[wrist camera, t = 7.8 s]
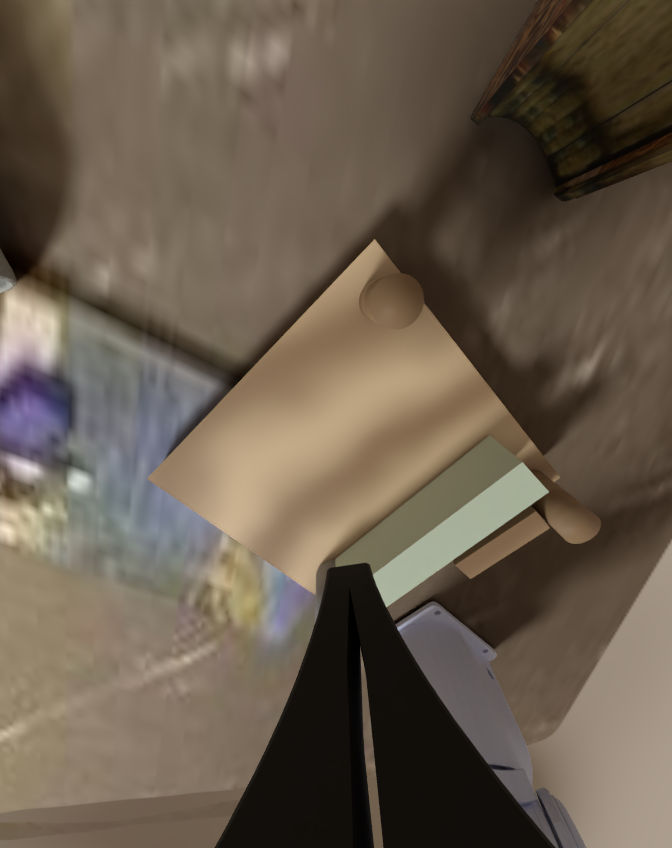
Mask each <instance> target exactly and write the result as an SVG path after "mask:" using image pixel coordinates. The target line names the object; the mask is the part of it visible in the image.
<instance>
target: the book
mask: <svg viewBox="0 0 672 848" xmlns="http://www.w3.org/2000/svg"><path fill="white" fill-rule="evenodd" d="M494 116H495V117H504V118H509V119H512V120H514V121H516V122H518V123H520V124H521V125H523V126H524V127H526V128H527V129H528V130H529V131H530V132H531V133H532V134H533V135H534V137H535V138H536V139H537V141H538V142H539V144H540V145H541V147H542V148H543V150H544V152H545V154H546V157H547V159H548V162H549V164H550V167H551V170H552V174H553V177H554V181H555V187H556V188H555V190H554V195H555V196H556V197H557V198H558V199H559V200H561V201H567V200H571V199H574V198H579V197H581V196H584V195H587V194H589V193H592V192H594V191H597V190H600V189H602V188H605V187H607V186H610V185H613V184H615V183H618V182H620V181H623V180H625V179H628V178H630V177H633V176H635V175H638V174H640V173H643V172H645V171H648V170H650V169H653V168H655V167H658V166H661V165H663V164H666V163H668V162H671V161H672V0H538V2H537V4H536V5H535V7H534V9H533V11H532V12H531V14H530V16H529V17H528V19H527V21H526V22H525V24H524V26H523V28H522V29H521V31H520V33H519V34H518V36H517V38H516V40H515V41H514V43H513V45H512V46H511V48H510V50H509V52H508V53H507V55H506V57H505V59H504V60H503V62H502V64H501V65H500V67H499V69H498V71H497V72H496V74H495V76H494V77H493V79H492V81H491V83H490V84H489V86H488V88H487V90H486V91H485V93H484V95H483V96H482V98H481V100H480V102H479V103H478V105H477V107H476V109H475V110H474V112H473V114H472V116H471V120H473V121H474V122H475V123H476V124H477V125H479V124H480V123H481V122H482V121H483V120H484V119H485V118H486V117H494Z"/></svg>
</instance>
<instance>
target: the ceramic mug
mask: <svg viewBox="0 0 672 848" xmlns="http://www.w3.org/2000/svg"><path fill="white" fill-rule="evenodd" d="M15 285H16V277H15V275H14V273H13V270H12V268H11V267H10V265H9V263H8V261H7V260H6V258H5V256H4V255H3V253H2V251H1V249H0V293H1V292H3V291H8V290H10V289H12V288H13V287H14V286H15Z"/></svg>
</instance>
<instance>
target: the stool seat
mask: <svg viewBox="0 0 672 848" xmlns="http://www.w3.org/2000/svg"><path fill="white" fill-rule="evenodd" d="M489 435H490V436H491V437H493V438H494V439H495V440H496V441H498V442H499V443H500V444H501V445H502V446H504V447H505V448H506V449H507V450H508V451H510V452H511V453H512V454H513V455H515V456H516V457H517V458H518V459H519V460H521V461H522V462H523V463H524V464H525V465H526V467H527V468H528V469H529V470H530V471H531V472H532V473H533V474H534V476H535V477H536V478H537V479H538V480H539V481H540V482H541V483H542V485H543V486H544V487H545V488H546V489H547V490H548V491H549V492H548V493H547V494H546V495H544V496H543V497H541V498H540V499H539V500H537V501H536V502H534V503H533V504H531V506H532V507H533V508H534V509H535V510H536V511H537V512H538V513H539V514H540V515H541V516H542V517H543V518H544V519H545V520H546V521H547V522H548V523H549V524H550V525H551V526H552V527H553V528H554V529H555V530H556V531H557V532H558V533H559V534H560V535H561V536H562V537H563V538H564V539H565V540H566V541H567V542H569V543H572V544H580V543H584V542H586V541H588V540H590V539H592V538H593V537H594V536H595V535H596V534H597V533H598V532H599V530H600V528H601V521H600V519H599V518H598V517H597V516H596V515H595V514H594V513H592V512H591V511H590V510H589V509H587V508H586V507H585V506H584V505H582V504H581V503H580V502H579V501H577V500H576V499H575V498H574V497H572V496H571V495H570V494H569V493H567V492H566V491H565V490H563V489H562V488H561V487H560V486H558V485H557V484H556V483H555V481H556V480H558V479H559V478H560V477H559V475H558V474H557V473H556V472H555V470H554V469H553V468H552V466H551V465H550V464H549V463H548V461H547V460H546V459H545V457H544V456H543V455H542V454H541V452H540V451H539V450H538V448H537V447H536V446H535V445H534V443H533V442H532V441H531V439H530V438H529V437H528V436H527V434H526V433H525V432H524V430H523V429H522V428H521V427H520V425H519V424H518V423H517V421H516V420H515V419H514V418H513V416H512V415H511V414H510V412H509V411H508V410H507V409H506V407H505V406H504V405H503V403H502V402H501V401H500V400H499V398H498V397H497V396H496V394H495V393H494V392H493V391H492V389H491V388H490V387H489V385H488V384H487V383H486V382H485V380H484V379H483V378H482V377H481V375H480V374H479V373H478V371H477V370H476V369H475V368H474V366H473V365H472V364H471V362H470V361H469V360H468V359H467V357H466V356H465V355H464V353H463V352H462V351H461V350H460V348H459V347H458V346H457V344H456V343H455V342H454V341H453V339H452V338H451V337H450V335H449V334H448V333H447V332H446V330H445V329H444V328H443V326H442V325H441V324H440V323H439V321H438V320H437V319H436V317H435V316H434V315H433V314H432V312H431V311H430V310H429V308H428V307H427V306H426V305H425V303H424V294H423V290H422V287H421V285H420V284H419V282H418V281H417V280H416V279H415V278H414V277H412V276H410V275H408V274H404V273H401V272H400V271H399V270H398V269H397V267H396V266H395V265H394V263H393V262H392V261H391V260H390V258H389V257H388V256H387V254H386V253H385V252H384V251H383V249H382V248H381V247H380V245H379V244H378V243H377V242H376V240H375V239H374V240H373V241H372V242H371V243H370V244H369V246H368V247H367V248H366V249H365V250H364V251H363V252H362V253H361V254H360V255H359V256H358V257H357V258H356V259H355V260H354V261H353V262H352V263H351V264H350V266H349V267H348V268H347V269H346V270H345V271H344V272H343V273H342V274H341V275H340V276H339V277H338V278H337V279H336V280H335V281H334V282H333V283H332V284H331V286H330V287H329V288H328V289H327V290H326V291H325V292H324V293H323V294H322V295H321V296H320V297H319V298H318V299H317V300H316V301H315V302H314V303H313V304H312V306H311V307H310V308H309V309H308V310H307V311H306V312H305V313H304V314H303V315H302V316H301V317H300V318H299V319H298V320H297V321H296V322H295V323H294V324H293V326H292V327H291V328H290V329H289V330H288V331H287V332H286V333H285V334H284V335H283V336H282V337H281V338H280V339H279V340H278V341H277V342H276V343H275V344H274V346H273V347H272V348H271V349H270V350H269V351H268V352H267V353H266V354H265V355H264V356H263V357H262V358H261V359H260V360H259V361H258V362H257V363H256V364H255V366H254V367H253V368H252V369H251V370H250V371H249V372H248V373H247V374H246V375H245V376H244V377H243V378H242V379H241V380H240V381H239V382H238V383H237V384H236V385H235V387H234V388H233V389H232V390H231V391H230V392H229V393H228V394H227V395H226V396H225V397H224V398H223V399H222V400H221V401H220V402H219V403H218V404H217V405H216V407H215V408H214V409H213V410H212V411H211V412H210V413H209V414H208V415H207V416H206V417H205V418H204V419H203V420H202V421H201V422H200V423H199V424H198V425H197V427H196V428H195V429H194V430H193V431H192V432H191V433H190V434H189V435H188V436H187V437H186V438H185V439H184V440H183V441H182V442H181V443H180V444H179V445H178V447H177V448H176V449H175V450H174V451H173V452H172V453H171V454H170V455H169V456H168V457H167V458H166V459H165V460H164V461H163V462H162V463H161V464H160V465H159V467H158V468H157V469H156V470H155V471H154V472H153V473H152V474H151V475H150V476H149V477H148V478H147V479H148V480H150V481H151V482H153V483H154V484H155V485H157V486H158V487H160V488H161V489H163V490H164V491H166V492H167V493H168V494H170V495H171V496H173V497H174V498H176V499H177V500H179V501H180V502H181V503H183V504H184V505H186V506H187V507H189V508H190V509H192V510H193V511H194V512H196V513H197V514H199V515H200V516H202V517H203V518H205V519H206V520H207V521H209V522H210V523H212V524H213V525H215V526H216V527H218V528H219V529H220V530H222V531H223V532H225V533H226V534H228V535H229V536H231V537H232V538H233V539H235V540H236V541H238V542H239V543H241V544H242V545H244V546H245V547H247V548H248V549H249V550H251V551H252V552H254V553H255V554H257V555H258V556H260V557H261V558H262V559H264V560H265V561H267V562H268V563H270V564H271V565H273V566H274V567H275V568H277V569H278V570H280V571H281V572H283V573H284V574H286V575H287V576H288V577H290V578H291V579H293V580H294V581H296V582H297V583H299V584H300V585H301V586H303V587H304V588H306V589H307V590H309V591H310V592H312V593H313V594H314V595H316V573H317V570H318V568H319V567H320V566H321V565H322V564H324V563H325V562H327V561H330V560H333V559H336V558H337V557H338V556H340V555H341V554H342V553H343V552H345V551H346V550H347V549H348V548H350V547H351V546H352V545H353V544H355V543H356V542H357V541H358V540H360V539H361V538H362V537H363V536H365V535H366V534H367V533H368V532H370V531H371V530H372V529H373V528H375V527H376V526H377V525H378V524H380V523H381V522H382V521H383V520H385V519H386V518H387V517H388V516H389V515H391V514H392V513H393V512H394V511H396V510H397V509H398V508H399V507H401V506H402V505H403V504H404V503H406V502H407V501H408V500H409V499H411V498H412V497H413V496H414V495H416V494H417V493H418V492H419V491H421V490H422V489H423V488H424V487H426V486H427V485H428V484H429V483H431V482H432V481H433V480H434V479H436V478H437V477H438V476H439V475H441V474H442V473H443V472H444V471H446V470H447V469H448V468H449V467H451V466H452V465H453V464H454V463H455V462H457V461H458V460H459V459H460V458H462V457H463V456H464V455H465V454H467V453H468V452H469V451H470V450H472V449H473V448H474V447H475V446H477V445H478V444H479V443H480V442H482V441H483V440H484V439H485V438H487V437H488V436H489ZM531 506H529V507H527V508H526V509H524V510H523V511H522V512H520V513H519V514H517V515H516V516H515V517H513V518H512V519H510V520H509V521H507V522H506V523H505V524H503V525H502V526H500V527H499V528H498V529H496V530H495V531H493V532H492V533H491V534H489V535H488V536H486V537H485V538H483V539H482V540H481V541H479V542H478V543H476V544H475V545H474V546H472V547H471V548H469V549H468V550H466V551H465V552H464V553H462V554H461V555H459V556H458V557H457V558H455V559H454V560H453V562H454V564H455V566H457V567H458V568H459V569H460V570H461V571H462V572H463V573H464V574H465V575H466V576H468V577H469V578H470V579H472V578H473V577H475V576H476V575H478V574H479V573H481V572H483V571H484V570H486V569H487V568H489V567H490V566H492V565H493V564H495V563H496V562H498V561H500V560H501V559H503V558H504V557H506V556H507V555H509V554H510V553H512V552H514V551H515V550H517V549H518V548H520V547H521V546H523V545H524V544H526V543H528V542H529V541H531V540H532V539H534V538H535V537H537V536H538V535H540V534H542V533H543V532H545V531H546V530H548V529H549V528H550V527H549V526H548V525H547V524H546V522H545V521H544V520H543V519H542V518H541V517H540V515H539V514H538V513H537V512H536V511H535V510H534V509H533V508H532V507H531Z"/></svg>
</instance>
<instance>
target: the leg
mask: <svg viewBox="0 0 672 848" xmlns="http://www.w3.org/2000/svg"><path fill="white" fill-rule="evenodd" d="M548 492H549V491H548V490H547V489H546V488H545V487H544V486H543V485H542V483H541V482H540V481H539V480H538V479H537V478H536V477H535V476H534V474H533V473H532V472H531V471H530V470H529V469H528V468H527V467H526V465H525V464H524V463H523V462H522V461H521V460H519V459H518V458H517V457H516V456H515V455H513V454H512V453H511V452H510V451H508V450H507V449H506V448H505V447H504V446H502V445H501V444H500V443H499V442H498V441H496V440H495V439H494V438H493V437H491V436H490V435H489V436H488V437H487V438H485V439H484V440H483V441H482V442H480V443H479V444H478V445H477V446H475V447H474V448H473V449H472V450H470V451H469V452H468V453H467V454H465V455H464V456H463V457H462V458H460V459H459V460H458V461H457V462H455V463H454V464H453V465H452V466H451V467H449V468H448V469H447V470H446V471H444V472H443V473H442V474H441V475H439V476H438V477H437V478H436V479H434V480H433V481H432V482H431V483H429V484H428V485H427V486H426V487H424V488H423V489H422V490H421V491H419V492H418V493H417V494H416V495H414V496H413V497H412V498H411V499H409V500H408V501H407V502H406V503H404V504H403V505H402V506H401V507H399V508H398V509H397V510H396V511H394V512H393V513H392V514H391V515H389V516H388V517H387V518H386V519H385V520H383V521H382V522H381V523H380V524H378V525H377V526H376V527H375V528H373V529H372V530H371V531H370V532H368V533H367V534H366V535H365V536H363V537H362V538H361V539H360V540H358V541H357V542H356V543H355V544H353V545H352V546H351V547H350V548H348V549H347V550H346V551H345V552H343V553H342V554H341V555H340V556H338V557H337V558H336V559H333V560H330V561H327V562H325V563H324V564H322V565H321V566H320V567H319V568H318V570H317V573H316V595H315V622H316V619H317V615H318V612H319V608H320V604H321V600H322V596H323V591H324V587H325V581H326V574H327V570H328V569H329V568H332V567H339V566H346V565H353V564H360V563H368V564H370V567H371V571H372V574H373V577H374V580H375V582H376V585H377V588H378V590H379V592H380V594H381V597H382V599H383V601H384V603H385V605H386V607H387V606H389V605H390V604H392V603H393V602H394V601H396V600H397V599H399V598H400V597H401V596H403V595H404V594H406V593H407V592H409V591H410V590H411V589H413V588H414V587H416V586H417V585H418V584H420V583H421V582H423V581H424V580H425V579H427V578H428V577H430V576H431V575H433V574H434V573H435V572H437V571H438V570H440V569H441V568H442V567H444V566H445V565H447V564H448V563H450V562H451V561H452V560H454V559H455V558H457V557H458V556H459V555H461V554H462V553H464V552H465V551H466V550H468V549H469V548H471V547H472V546H474V545H475V544H476V543H478V542H479V541H481V540H482V539H483V538H485V537H486V536H488V535H489V534H491V533H492V532H493V531H495V530H496V529H498V528H499V527H500V526H502V525H503V524H505V523H506V522H507V521H509V520H510V519H512V518H513V517H515V516H516V515H517V514H519V513H520V512H522V511H523V510H524V509H526V508H527V507H529V506H530V505H531V504H533V503H534V502H536V501H537V500H539V499H540V498H541V497H543V496H544V495H546V494H547V493H548Z"/></svg>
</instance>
